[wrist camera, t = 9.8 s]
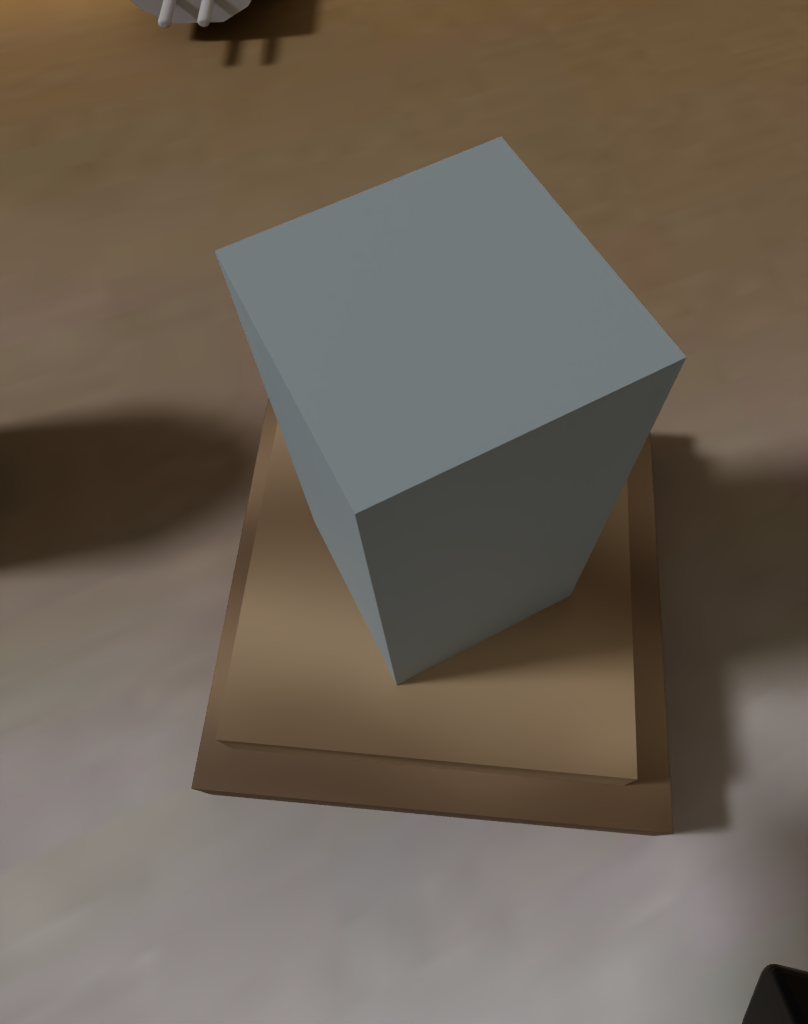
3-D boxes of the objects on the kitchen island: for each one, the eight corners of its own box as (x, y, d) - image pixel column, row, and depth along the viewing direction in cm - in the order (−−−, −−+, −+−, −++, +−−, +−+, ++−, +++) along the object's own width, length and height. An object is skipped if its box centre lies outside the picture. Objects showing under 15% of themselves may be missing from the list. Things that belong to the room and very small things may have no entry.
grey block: (570, 595, 19) (686, 357, 10) (396, 685, 18) (355, 513, 9) (475, 446, 21) (501, 136, 12) (314, 521, 20) (214, 251, 11)
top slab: (623, 785, 19) (637, 779, 17) (231, 748, 19) (215, 739, 18) (614, 439, 23) (624, 412, 21) (292, 421, 24) (282, 394, 22)
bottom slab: (647, 836, 20) (673, 833, 18) (217, 796, 21) (191, 788, 19) (630, 453, 25) (649, 413, 23) (283, 434, 26) (269, 394, 24)
